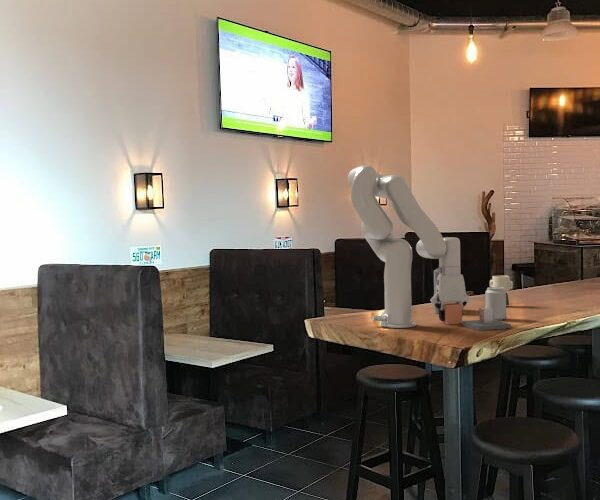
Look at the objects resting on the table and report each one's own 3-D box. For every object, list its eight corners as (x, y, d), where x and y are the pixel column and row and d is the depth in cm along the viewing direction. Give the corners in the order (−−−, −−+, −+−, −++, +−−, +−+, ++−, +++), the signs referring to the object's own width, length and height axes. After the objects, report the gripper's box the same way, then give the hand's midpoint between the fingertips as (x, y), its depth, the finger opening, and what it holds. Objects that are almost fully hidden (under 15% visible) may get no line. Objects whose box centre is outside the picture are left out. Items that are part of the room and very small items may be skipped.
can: (491, 321, 237) (491, 288, 237) (482, 318, 245) (481, 286, 244) (510, 320, 239) (509, 287, 238) (500, 317, 246) (499, 286, 246)
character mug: (517, 306, 274) (517, 276, 273) (508, 308, 269) (507, 277, 268) (494, 304, 282) (494, 274, 281) (485, 306, 277) (485, 276, 277)
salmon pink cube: (446, 324, 233) (446, 305, 232) (439, 322, 239) (439, 303, 238) (462, 323, 234) (461, 304, 234) (454, 321, 240) (454, 302, 240)
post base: (479, 330, 218) (478, 311, 218) (462, 325, 230) (461, 307, 230) (510, 328, 221) (510, 309, 221) (492, 323, 233) (492, 305, 232)
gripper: (432, 273, 230) (433, 323, 231) (476, 270, 234) (477, 320, 235) (423, 271, 237) (424, 320, 238) (466, 269, 241) (467, 317, 242)
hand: (450, 319), depth 236 cm, fingers closed on salmon pink cube, 6 cm apart
